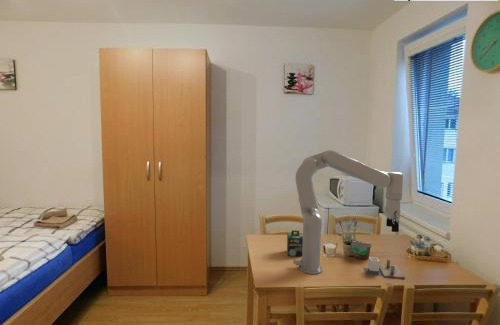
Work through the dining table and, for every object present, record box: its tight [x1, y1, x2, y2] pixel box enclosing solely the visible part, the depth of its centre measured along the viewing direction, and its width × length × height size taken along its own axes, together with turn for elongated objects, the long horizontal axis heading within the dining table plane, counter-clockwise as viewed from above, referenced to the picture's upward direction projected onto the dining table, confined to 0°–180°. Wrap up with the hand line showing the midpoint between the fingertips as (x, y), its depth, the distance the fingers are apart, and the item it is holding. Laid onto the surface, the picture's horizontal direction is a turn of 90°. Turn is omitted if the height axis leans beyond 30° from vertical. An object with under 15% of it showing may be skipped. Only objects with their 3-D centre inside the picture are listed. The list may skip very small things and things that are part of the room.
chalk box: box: [286, 230, 303, 258], centre depth 189 cm, size 9×9×15 cm
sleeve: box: [367, 256, 381, 274], centre depth 165 cm, size 4×4×7 cm
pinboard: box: [379, 259, 406, 280], centre depth 166 cm, size 10×15×5 cm, turn 171°
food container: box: [350, 239, 373, 261], centre depth 184 cm, size 12×6×10 cm, turn 47°
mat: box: [362, 267, 384, 277], centre depth 165 cm, size 9×9×1 cm
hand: (392, 229), depth 160 cm, fingers open, 9 cm apart
